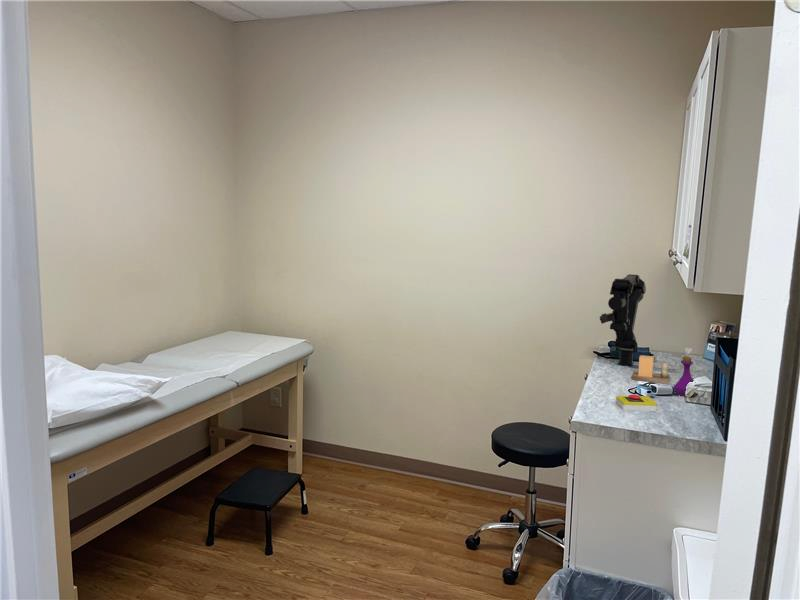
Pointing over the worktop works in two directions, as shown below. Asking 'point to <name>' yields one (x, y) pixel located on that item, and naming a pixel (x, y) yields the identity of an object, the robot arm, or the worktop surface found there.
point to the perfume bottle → (684, 374)
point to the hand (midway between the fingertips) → (619, 343)
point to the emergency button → (636, 403)
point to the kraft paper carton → (646, 366)
